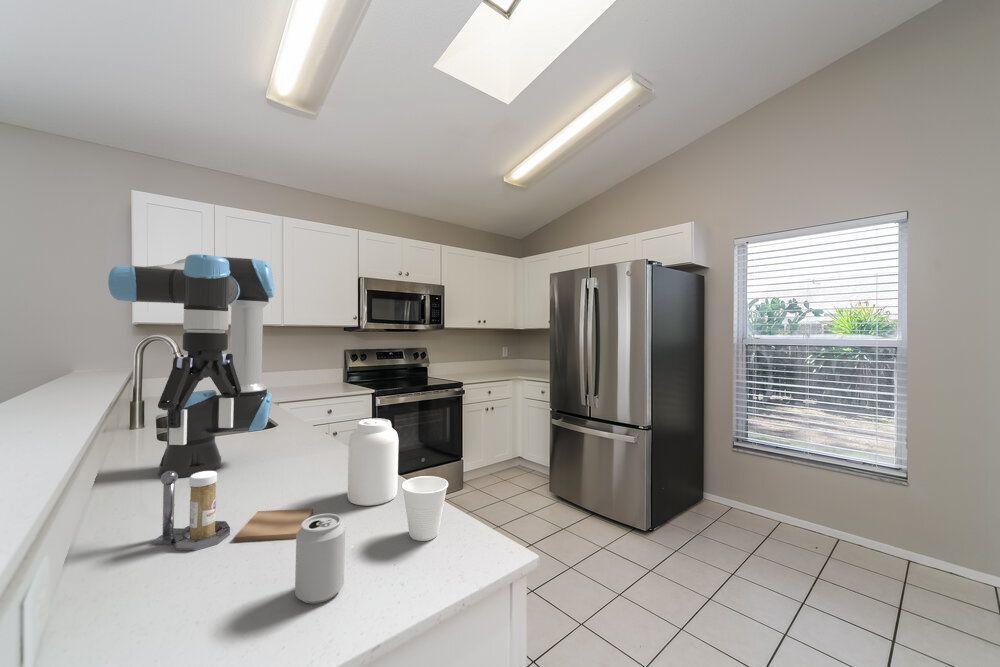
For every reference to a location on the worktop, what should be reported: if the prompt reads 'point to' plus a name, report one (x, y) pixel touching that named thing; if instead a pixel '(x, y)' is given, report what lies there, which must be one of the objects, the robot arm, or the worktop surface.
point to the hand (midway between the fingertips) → (203, 435)
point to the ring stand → (180, 534)
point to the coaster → (273, 525)
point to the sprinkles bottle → (202, 504)
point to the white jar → (373, 463)
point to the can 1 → (320, 558)
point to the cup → (424, 505)
